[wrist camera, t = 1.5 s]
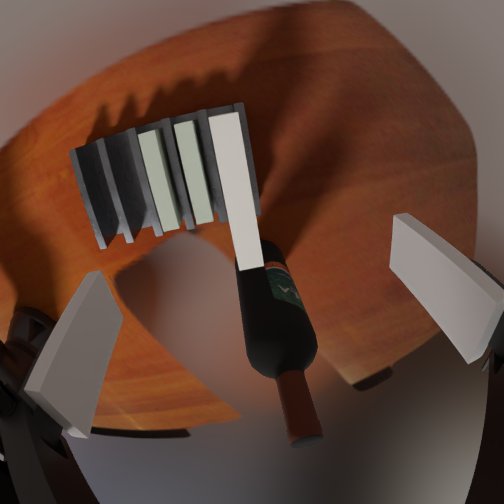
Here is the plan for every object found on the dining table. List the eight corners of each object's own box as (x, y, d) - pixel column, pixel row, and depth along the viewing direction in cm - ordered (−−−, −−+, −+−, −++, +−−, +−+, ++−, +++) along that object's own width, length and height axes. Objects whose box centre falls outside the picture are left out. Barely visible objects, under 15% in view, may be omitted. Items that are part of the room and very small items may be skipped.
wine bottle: (231, 243, 44) (256, 432, 17) (280, 236, 44) (358, 409, 18) (238, 284, 47) (264, 463, 21) (283, 277, 48) (344, 445, 21)
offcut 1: (170, 214, 39) (163, 231, 33) (149, 131, 33) (137, 134, 28) (184, 211, 39) (179, 228, 33) (164, 127, 33) (154, 129, 28)
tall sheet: (229, 201, 39) (239, 270, 23) (212, 115, 33) (208, 117, 17) (244, 199, 39) (264, 265, 23) (228, 112, 33) (237, 112, 17)
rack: (111, 232, 40) (97, 250, 35) (84, 145, 34) (65, 152, 28) (258, 199, 41) (265, 214, 36) (242, 103, 34) (247, 101, 29)
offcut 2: (199, 208, 39) (197, 224, 34) (180, 122, 33) (173, 124, 28) (213, 205, 39) (213, 221, 34) (196, 119, 33) (191, 120, 28)
